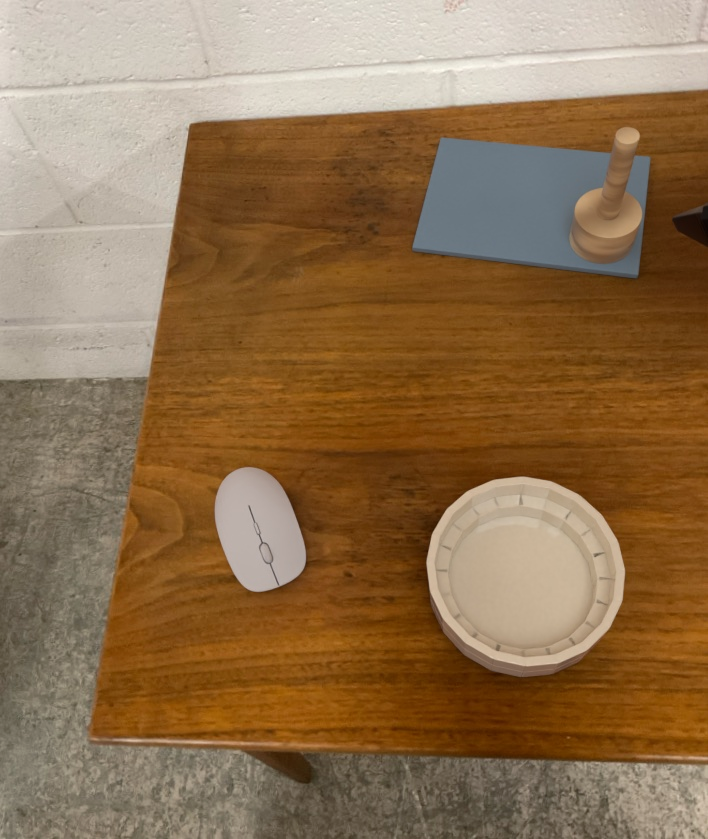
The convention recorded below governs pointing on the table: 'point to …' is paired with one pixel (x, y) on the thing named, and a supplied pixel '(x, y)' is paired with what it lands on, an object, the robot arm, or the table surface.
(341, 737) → the table surface
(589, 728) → the table surface
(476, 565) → the bowl
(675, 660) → the table surface
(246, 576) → the computer mouse
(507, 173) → the mat
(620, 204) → the wooden stamp
